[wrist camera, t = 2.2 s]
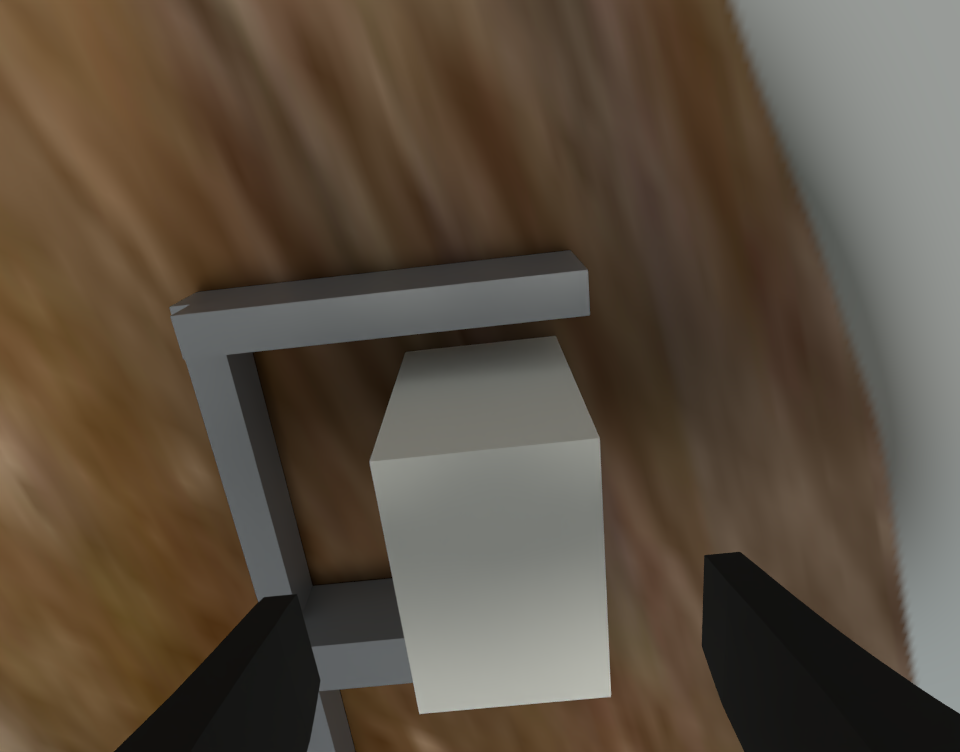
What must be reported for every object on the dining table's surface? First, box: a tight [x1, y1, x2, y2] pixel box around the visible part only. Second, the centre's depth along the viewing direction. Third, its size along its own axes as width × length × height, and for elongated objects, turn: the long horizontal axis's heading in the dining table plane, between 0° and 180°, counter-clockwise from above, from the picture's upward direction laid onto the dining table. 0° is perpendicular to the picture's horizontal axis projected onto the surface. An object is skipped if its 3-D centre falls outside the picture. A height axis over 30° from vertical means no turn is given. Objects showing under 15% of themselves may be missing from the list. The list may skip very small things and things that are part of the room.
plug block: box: [369, 336, 611, 714], centre depth 14 cm, size 4×6×6 cm, turn 6°
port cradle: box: [169, 250, 590, 752], centre depth 18 cm, size 10×20×2 cm, turn 6°
